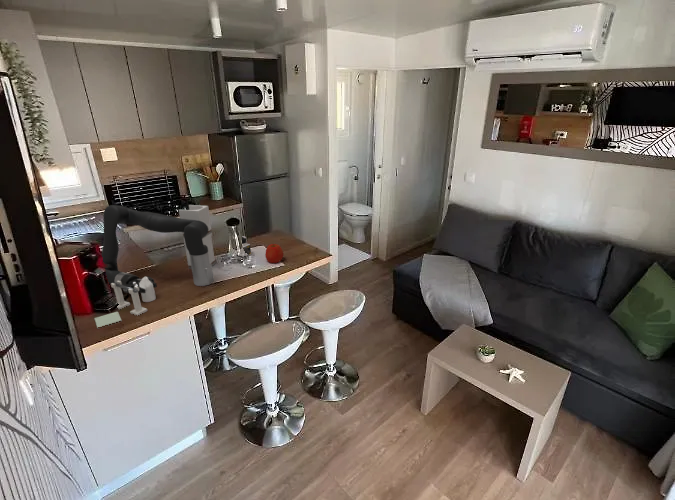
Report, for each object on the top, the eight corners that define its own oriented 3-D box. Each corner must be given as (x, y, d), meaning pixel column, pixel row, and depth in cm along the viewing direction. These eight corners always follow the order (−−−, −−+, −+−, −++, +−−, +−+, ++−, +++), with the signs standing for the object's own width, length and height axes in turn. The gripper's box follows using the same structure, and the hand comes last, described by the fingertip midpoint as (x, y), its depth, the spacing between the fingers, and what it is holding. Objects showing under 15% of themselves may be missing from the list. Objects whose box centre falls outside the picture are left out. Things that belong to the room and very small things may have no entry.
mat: (118, 312, 162) (117, 311, 162) (121, 321, 156) (121, 320, 156) (94, 319, 157) (94, 318, 157) (97, 328, 151) (97, 327, 150)
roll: (135, 279, 166) (140, 274, 172) (140, 302, 171) (145, 296, 176) (148, 279, 167) (153, 274, 172) (153, 301, 171) (158, 296, 176)
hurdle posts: (113, 307, 167) (107, 283, 162) (123, 302, 171) (117, 279, 166) (137, 316, 160) (131, 291, 155) (147, 310, 164) (142, 287, 159)
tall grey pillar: (216, 262, 214) (208, 205, 200) (207, 270, 204) (198, 211, 191) (198, 261, 215) (189, 204, 202) (188, 268, 206) (178, 210, 192)
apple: (287, 259, 218) (286, 243, 214) (275, 265, 210) (274, 249, 206) (273, 255, 224) (272, 240, 220) (261, 261, 215) (260, 245, 211)
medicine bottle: (243, 258, 220) (241, 240, 215) (234, 255, 223) (232, 237, 219) (251, 254, 225) (249, 236, 221) (243, 252, 229) (241, 234, 224)
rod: (113, 286, 164) (112, 283, 163) (116, 284, 165) (115, 282, 164) (136, 293, 157) (135, 290, 157) (138, 292, 159) (138, 289, 158)
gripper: (111, 280, 170) (135, 287, 163) (138, 268, 182) (161, 275, 175) (115, 294, 172) (138, 302, 166) (141, 281, 184) (164, 288, 177)
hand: (150, 288), depth 170 cm, fingers closed on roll, 5 cm apart
